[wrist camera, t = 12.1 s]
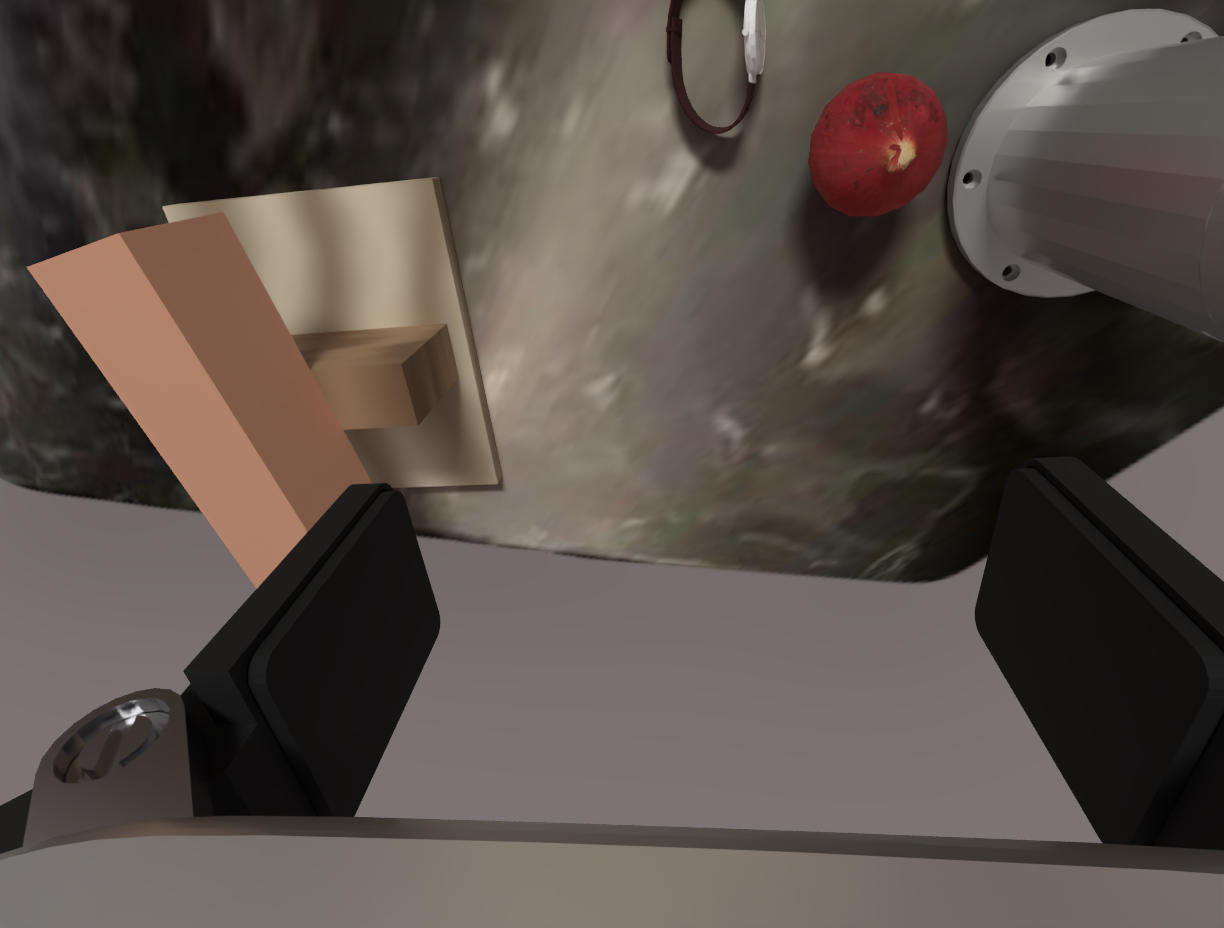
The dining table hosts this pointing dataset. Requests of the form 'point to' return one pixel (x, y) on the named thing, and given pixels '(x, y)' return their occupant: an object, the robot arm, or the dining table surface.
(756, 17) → the watch
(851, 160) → the onion
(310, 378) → the beam
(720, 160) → the dining table surface
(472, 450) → the stand
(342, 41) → the dining table surface
